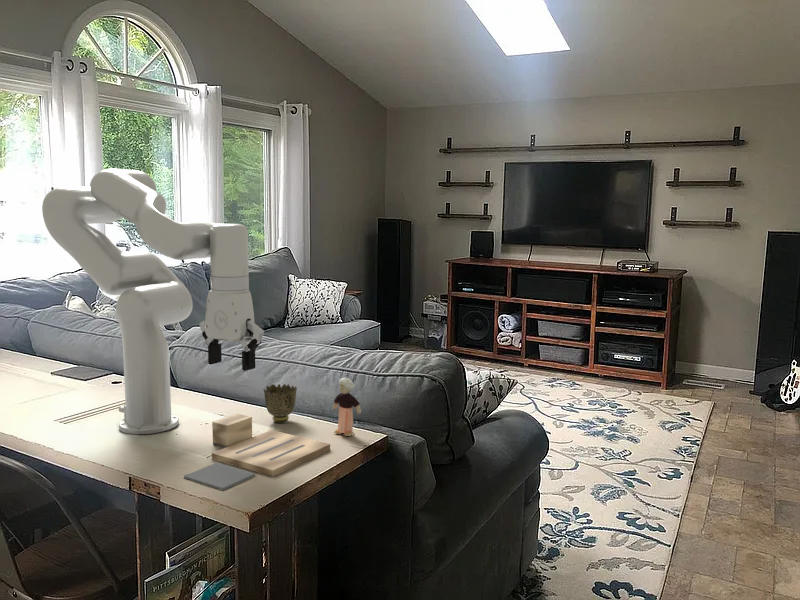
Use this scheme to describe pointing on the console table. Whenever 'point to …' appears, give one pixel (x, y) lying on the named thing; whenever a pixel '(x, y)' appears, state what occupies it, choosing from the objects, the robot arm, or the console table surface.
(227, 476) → the mat
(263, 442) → the plank
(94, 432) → the console table surface
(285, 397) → the cup
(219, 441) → the block
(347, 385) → the grandmother figurine
